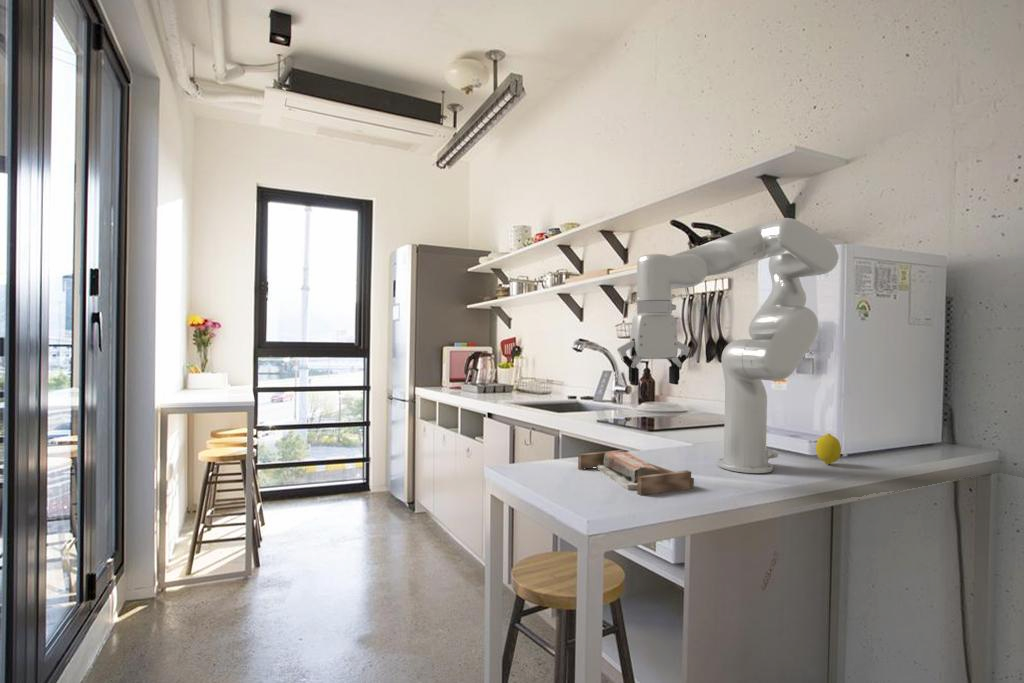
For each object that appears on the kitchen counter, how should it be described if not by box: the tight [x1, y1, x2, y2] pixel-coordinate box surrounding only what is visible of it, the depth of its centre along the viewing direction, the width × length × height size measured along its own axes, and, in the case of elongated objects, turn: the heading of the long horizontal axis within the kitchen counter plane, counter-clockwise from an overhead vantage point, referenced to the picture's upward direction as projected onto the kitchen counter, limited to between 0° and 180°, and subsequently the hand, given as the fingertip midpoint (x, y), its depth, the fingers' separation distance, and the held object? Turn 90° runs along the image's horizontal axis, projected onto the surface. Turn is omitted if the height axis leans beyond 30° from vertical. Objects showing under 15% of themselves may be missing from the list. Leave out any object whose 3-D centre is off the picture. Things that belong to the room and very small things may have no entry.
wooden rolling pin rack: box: [577, 449, 695, 496], centre depth 120 cm, size 14×23×4 cm, turn 26°
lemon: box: [815, 433, 842, 465], centre depth 136 cm, size 6×6×8 cm
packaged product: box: [596, 451, 661, 491], centre depth 120 cm, size 18×5×10 cm
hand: (654, 384), depth 122 cm, fingers open, 9 cm apart
